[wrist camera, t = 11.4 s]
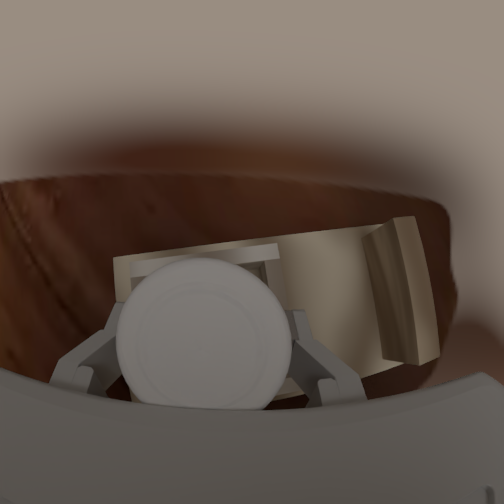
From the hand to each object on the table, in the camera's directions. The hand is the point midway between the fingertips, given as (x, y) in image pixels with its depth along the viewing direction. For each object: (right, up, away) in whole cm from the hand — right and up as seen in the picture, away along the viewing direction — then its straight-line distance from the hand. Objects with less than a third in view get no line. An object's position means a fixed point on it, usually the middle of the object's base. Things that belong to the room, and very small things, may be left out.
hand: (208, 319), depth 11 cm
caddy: (+3, -3, +11) cm, 11 cm away
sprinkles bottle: (-1, -3, +9) cm, 9 cm away
